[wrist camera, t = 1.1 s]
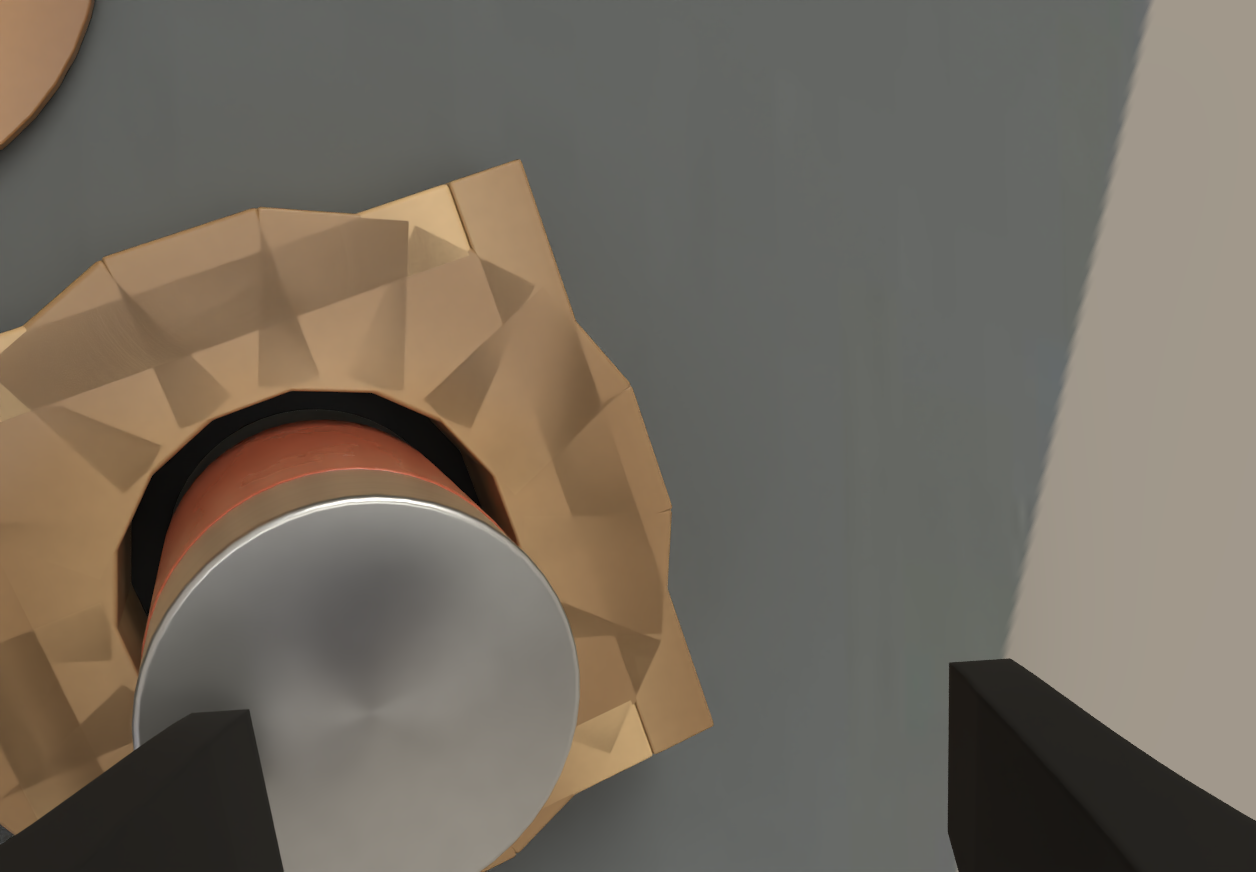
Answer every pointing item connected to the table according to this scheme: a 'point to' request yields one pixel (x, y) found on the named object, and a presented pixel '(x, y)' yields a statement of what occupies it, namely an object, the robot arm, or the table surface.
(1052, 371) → the table surface
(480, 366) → the holder
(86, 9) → the coaster
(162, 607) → the can
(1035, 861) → the robot arm
